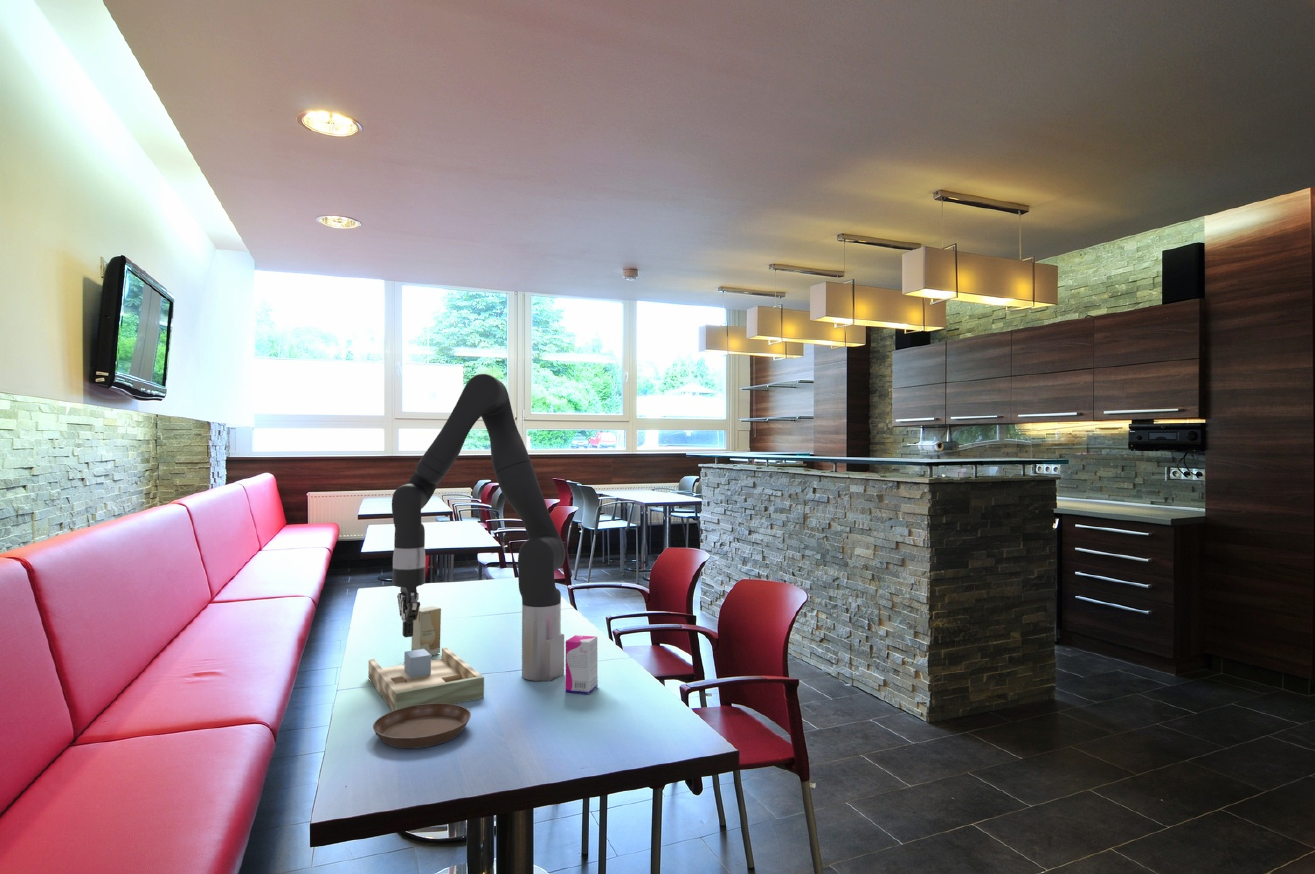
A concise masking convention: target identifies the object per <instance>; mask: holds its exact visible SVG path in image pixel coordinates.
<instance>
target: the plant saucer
mask: <svg viewBox="0 0 1315 874" xmlns="http://www.w3.org/2000/svg"><path fill="white" fill-rule="evenodd" d="M471 716H472V715H471V711H470V709H468V708H467V707H464V706H462V705H458V704H446V703H431V704H421V705H414V706H409V707H405V708H401V709H398V710H395V711H392V710H391V711H390V712H387V713H385V714H383V715H381V716H380V717H379V718H377V719H376V720H375V721H374V723H372V729H373V731H374V733H375V735H376V736H377V737H378V738H379V739H380V740H381V741H382V742H383V743H385V745H388V746H390V747H394V748H398V749H421V748H422V749H423V748H428V747H433V746H437V745H440V744H444V743H446V742H449V741H451V740H452V739H455V738H456V737H457V736H459V734H461V732H462V731H463V729H465V727H466V726H467V724H468V722H469V721H470V719H471Z"/></svg>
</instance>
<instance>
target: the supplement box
mask: <svg viewBox="0 0 1315 874" xmlns="http://www.w3.org/2000/svg"><path fill="white" fill-rule="evenodd" d="M598 682H599V680H598V636H596V635H595V636H591V635H577V634H575V635H573V636H572V637H569V639H567V640H565V693H571V694H579V693H582V694H581V695H590V694H591V693H592V692H593V691H595V690H596V689H597V687H598ZM596 686H597V687H596ZM583 693H584V694H583ZM589 693H590V694H589Z"/></svg>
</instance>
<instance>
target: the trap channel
mask: <svg viewBox="0 0 1315 874" xmlns="http://www.w3.org/2000/svg"><path fill="white" fill-rule="evenodd" d="M367 676H368V678H369V679H370V680H371V682H372V683H373V684H372V683H371V682H370V683H371V684H372V686H373V685H374V686H375V687H376V689H377V690H378V691H377V690H376V689H375V690H376V691H377V693H378V692H379V693H380V694H381V695H380V694H379V693H378V694H379V695H380V697H381V696H382V697H383V698H382V697H381V698H382V699H383V700H385V701H384V702H385V704H387V706H388V707H389V709H390V710H391V712H392V711H395V710H398V709H401V708H405V707H409V706H414V705H421V704H431V703H446V704H454V705H457V704H462V703H465V702H470V701H471V702H472V701H476V700H481V699H484V698H485V676H483V675H482V674H481V673H480V672H478V671H477V670H476V669H474V668H473V667H472V666H471V665H469V664H468V663H467V662H466V661H464V660H463V659H462V658H461V657H459V656H458V655H457V654H455V652H453V651H451V650H450V649H449V648H448V647H443V648H441V658H436V659H431V674H430V675H425V676H419V677H413V678H410V676H409V675H408V674H407V673H406V672H405V671H404V664H400V665H399V664H398V665H394V666H388V667H382V666H380V664H379V663H378V662H377V661H376V660H375V658H372V659H368V675H367ZM369 679H368V680H369ZM370 680H369V681H370ZM374 686H373V687H374ZM375 687H374V688H375Z"/></svg>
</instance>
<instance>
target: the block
mask: <svg viewBox="0 0 1315 874" xmlns="http://www.w3.org/2000/svg"><path fill="white" fill-rule="evenodd" d="M403 654H404V659H403V660H404V664H403V665H404V671H405V672H406V673H407V674H408V675H409V676H410V678H413V677H419V676H425V675H430V674H431V660H432V656H431V654H429V653H428V652H427V651H426V650H425V649H419V650H413V651H411V650H409V651H408V650H407V651H406V650H405V651H404V653H403Z"/></svg>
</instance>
